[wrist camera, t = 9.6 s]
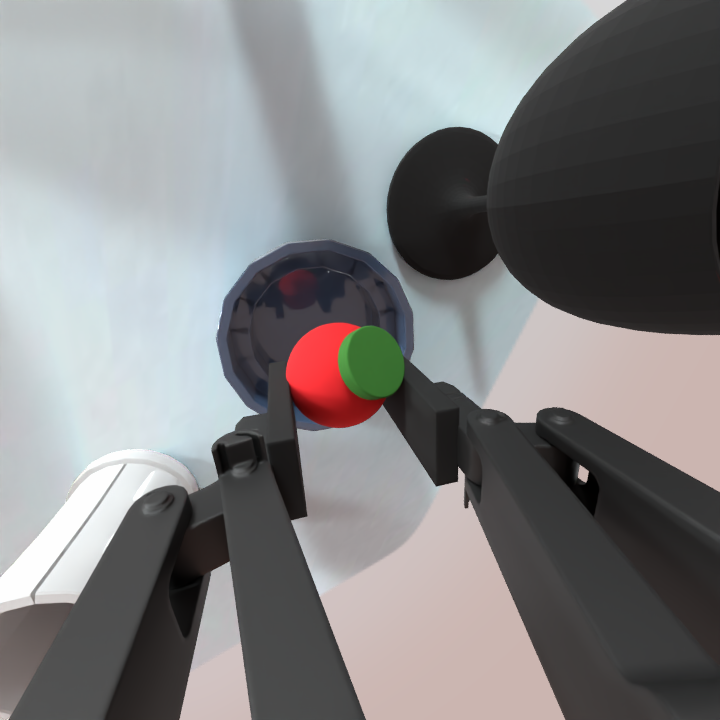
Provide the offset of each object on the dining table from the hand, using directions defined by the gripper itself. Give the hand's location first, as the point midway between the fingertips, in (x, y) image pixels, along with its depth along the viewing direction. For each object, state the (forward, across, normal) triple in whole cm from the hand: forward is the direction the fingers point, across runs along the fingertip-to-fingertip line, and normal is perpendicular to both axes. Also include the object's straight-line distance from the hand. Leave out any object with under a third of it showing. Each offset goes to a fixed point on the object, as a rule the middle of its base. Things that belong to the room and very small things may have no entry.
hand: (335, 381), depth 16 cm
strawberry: (0, -1, 0) cm, 1 cm away
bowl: (+11, 0, 0) cm, 11 cm away
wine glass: (+11, +11, +7) cm, 18 cm away
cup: (+11, -15, -11) cm, 22 cm away
